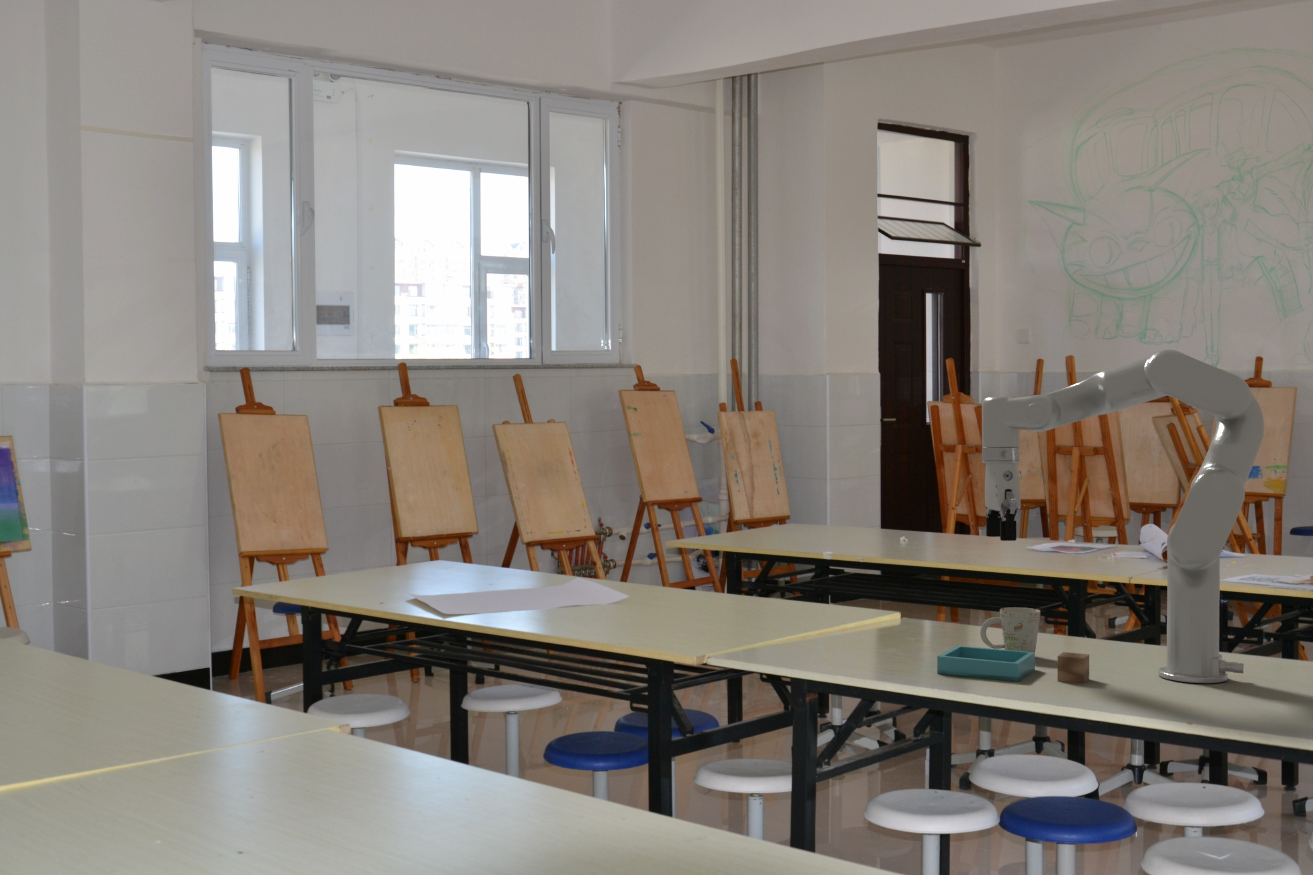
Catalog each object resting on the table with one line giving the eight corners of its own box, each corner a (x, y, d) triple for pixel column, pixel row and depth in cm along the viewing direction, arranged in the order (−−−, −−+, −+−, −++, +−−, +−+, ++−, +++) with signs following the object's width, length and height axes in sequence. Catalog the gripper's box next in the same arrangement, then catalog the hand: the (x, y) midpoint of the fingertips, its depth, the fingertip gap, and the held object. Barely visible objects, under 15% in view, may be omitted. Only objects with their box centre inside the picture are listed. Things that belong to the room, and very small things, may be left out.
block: (1089, 679, 251) (1089, 654, 251) (1084, 684, 246) (1084, 658, 246) (1062, 677, 253) (1063, 651, 253) (1057, 681, 249) (1057, 655, 249)
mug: (1044, 660, 270) (1045, 613, 270) (985, 660, 270) (985, 612, 270) (1034, 653, 279) (1034, 607, 278) (976, 652, 279) (976, 607, 279)
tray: (1034, 669, 260) (1034, 652, 260) (1018, 681, 248) (1018, 663, 248) (957, 662, 268) (957, 645, 268) (937, 673, 256) (937, 656, 256)
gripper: (1032, 457, 257) (1032, 542, 257) (1005, 454, 274) (1006, 534, 274) (995, 457, 256) (995, 542, 257) (971, 455, 274) (971, 535, 274)
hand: (1001, 538), depth 265 cm, fingers open, 9 cm apart
